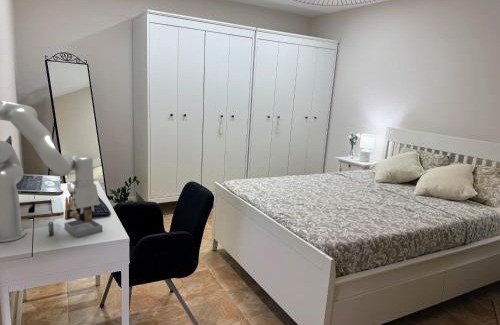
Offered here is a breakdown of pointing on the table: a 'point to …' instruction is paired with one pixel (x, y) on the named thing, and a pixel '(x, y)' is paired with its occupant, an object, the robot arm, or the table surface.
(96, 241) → the table surface
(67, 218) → the ammunition clip
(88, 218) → the wooden block toy
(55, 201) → the table surface
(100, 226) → the tray
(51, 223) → the stake
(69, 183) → the figurine
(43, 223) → the table surface
